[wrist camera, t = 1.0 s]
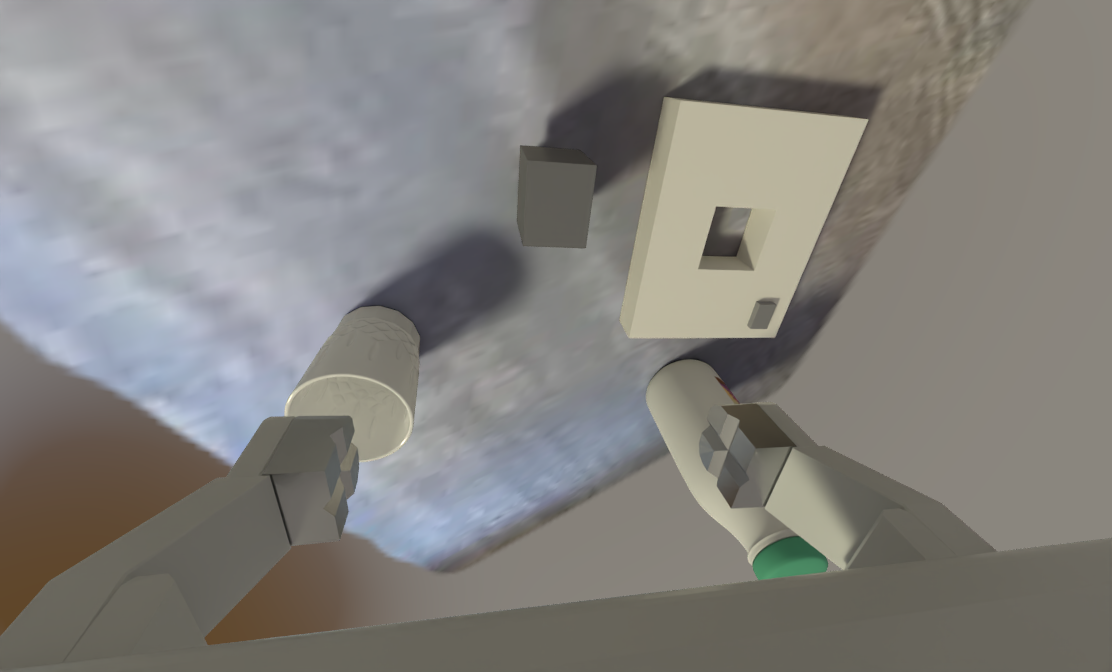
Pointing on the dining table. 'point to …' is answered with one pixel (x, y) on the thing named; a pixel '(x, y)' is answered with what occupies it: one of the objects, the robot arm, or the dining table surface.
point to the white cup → (365, 380)
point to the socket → (731, 181)
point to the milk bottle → (681, 418)
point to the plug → (554, 196)
